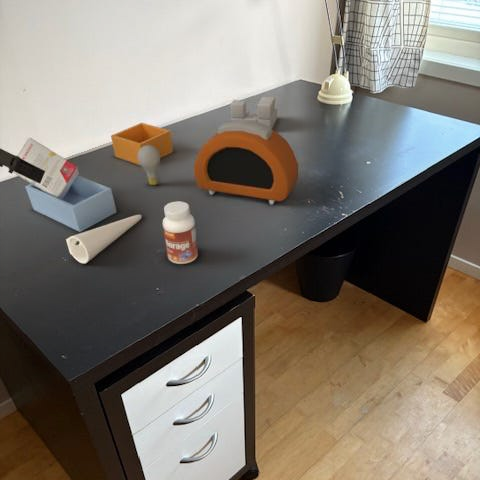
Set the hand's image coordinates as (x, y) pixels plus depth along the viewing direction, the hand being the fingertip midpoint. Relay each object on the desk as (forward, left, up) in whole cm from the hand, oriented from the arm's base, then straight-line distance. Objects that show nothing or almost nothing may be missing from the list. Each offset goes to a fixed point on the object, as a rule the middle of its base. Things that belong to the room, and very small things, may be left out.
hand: (22, 168), depth 98 cm
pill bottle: (+34, +10, -14) cm, 38 cm away
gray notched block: (+3, +76, -14) cm, 77 cm away
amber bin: (-10, +41, -14) cm, 44 cm away
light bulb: (+6, +29, -14) cm, 32 cm away
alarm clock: (+28, +39, -14) cm, 50 cm away
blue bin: (0, +9, -14) cm, 16 cm away
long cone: (+18, +6, -14) cm, 24 cm away
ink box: (0, +10, -8) cm, 12 cm away
